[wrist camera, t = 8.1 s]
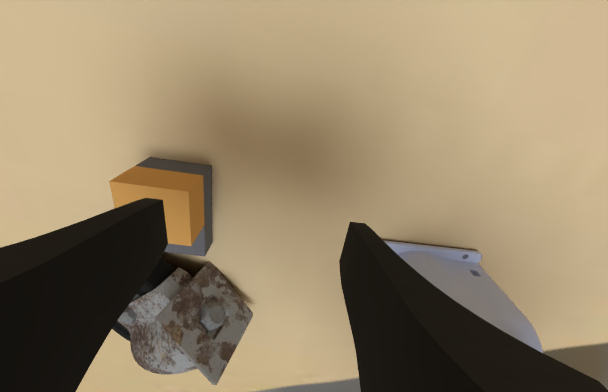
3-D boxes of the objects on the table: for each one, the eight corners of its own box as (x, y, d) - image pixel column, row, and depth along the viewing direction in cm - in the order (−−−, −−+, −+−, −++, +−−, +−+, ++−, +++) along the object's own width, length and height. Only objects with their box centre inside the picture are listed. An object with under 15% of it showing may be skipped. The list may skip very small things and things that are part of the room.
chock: (212, 165, 19) (188, 191, 15) (213, 240, 22) (193, 279, 18) (150, 156, 19) (109, 181, 15) (160, 234, 22) (128, 273, 18)
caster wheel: (121, 258, 26) (181, 216, 22) (191, 337, 28) (258, 312, 24) (45, 309, 20) (109, 263, 16) (142, 405, 22) (220, 386, 18)
